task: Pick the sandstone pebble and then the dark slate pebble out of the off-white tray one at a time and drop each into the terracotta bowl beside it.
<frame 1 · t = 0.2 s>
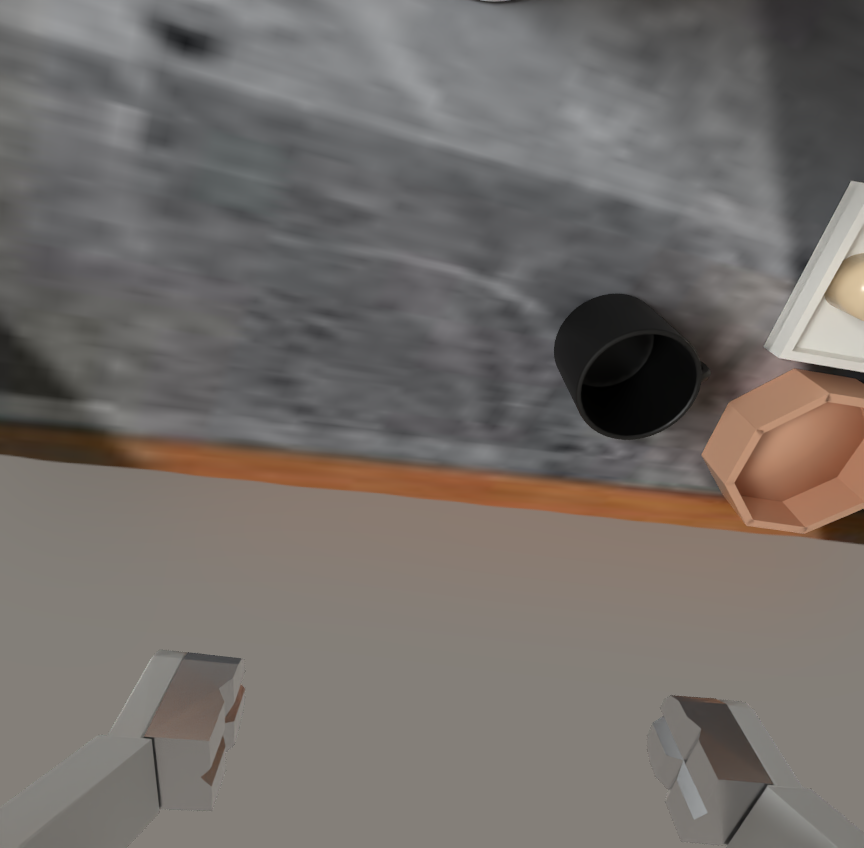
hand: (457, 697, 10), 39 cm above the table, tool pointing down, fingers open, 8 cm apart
mug: (618, 343, 48), on the table
bowl: (784, 440, 53), on the table
sand pebble: (853, 281, 44), point 1 cm above the table, touching tray
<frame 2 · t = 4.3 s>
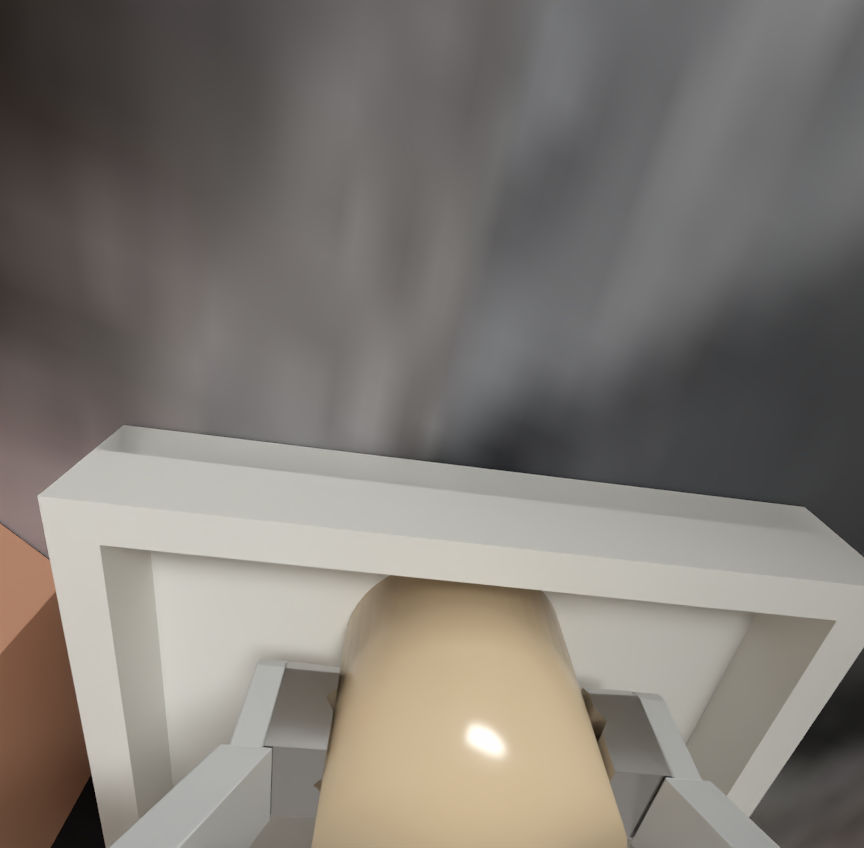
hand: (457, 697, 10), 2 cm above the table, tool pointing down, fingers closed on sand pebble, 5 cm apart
sand pebble: (453, 643, 11), point 1 cm above the table, touching gripper, tray
tray: (431, 703, 14), on the table
when the fingers open (7 cm above the table, at t = 8.8 s): sand pebble drops 5 cm, resting on bowl.
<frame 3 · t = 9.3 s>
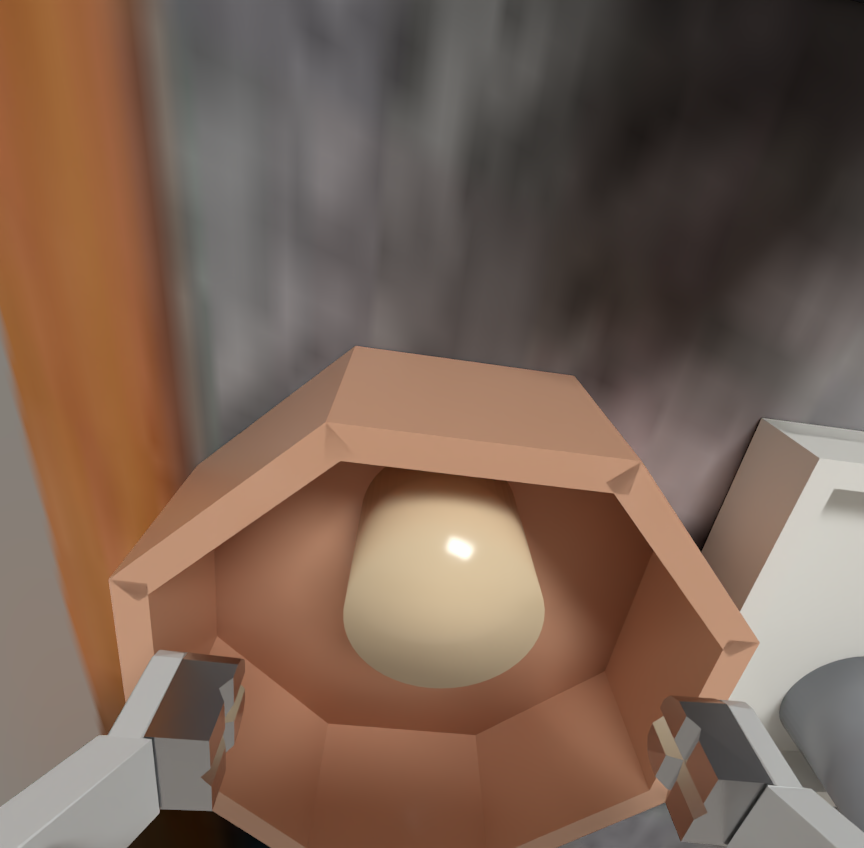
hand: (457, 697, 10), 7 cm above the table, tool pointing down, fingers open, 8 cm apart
slate pebble: (842, 700, 19), point 1 cm above the table, touching tray
bowl: (427, 571, 18), on the table
sand pebble: (438, 516, 16), point 1 cm above the table, touching bowl
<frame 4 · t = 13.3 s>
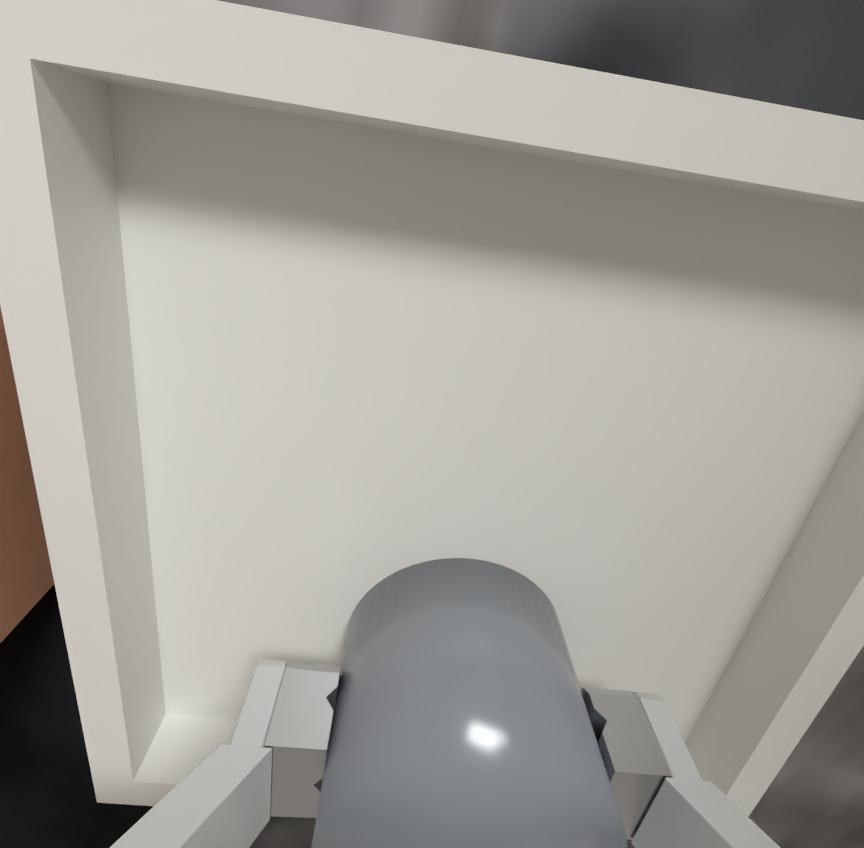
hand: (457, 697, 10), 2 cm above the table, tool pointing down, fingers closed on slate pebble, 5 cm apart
slate pebble: (453, 643, 11), point 1 cm above the table, touching gripper, tray
tray: (476, 492, 11), on the table
when the fingers open (7 cm above the table, at t = 17.9 s): slate pebble drops 5 cm, resting on bowl.
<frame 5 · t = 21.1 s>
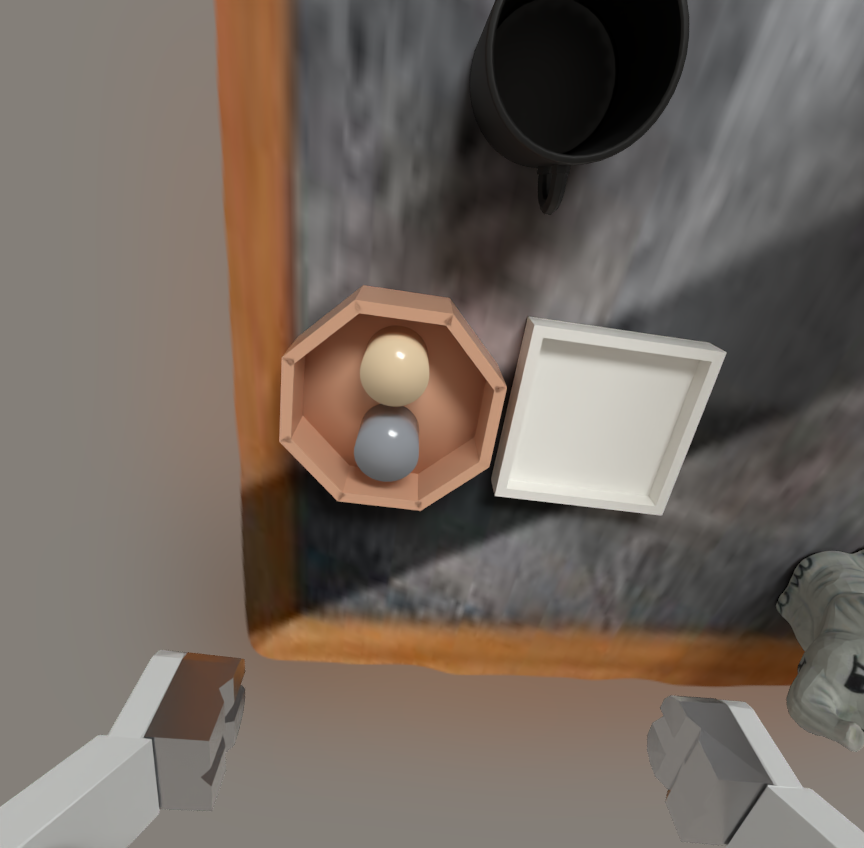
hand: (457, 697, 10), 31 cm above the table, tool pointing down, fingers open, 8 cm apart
slate pebble: (389, 429, 41), point 1 cm above the table, touching bowl
mug: (542, 107, 33), on the table
bowl: (394, 388, 41), on the table
sand pebble: (396, 356, 38), point 1 cm above the table, touching bowl
teapot: (816, 582, 50), on the table
tray: (593, 415, 42), on the table
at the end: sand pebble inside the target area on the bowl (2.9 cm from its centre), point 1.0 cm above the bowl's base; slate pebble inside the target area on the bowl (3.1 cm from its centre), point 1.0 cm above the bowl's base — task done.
